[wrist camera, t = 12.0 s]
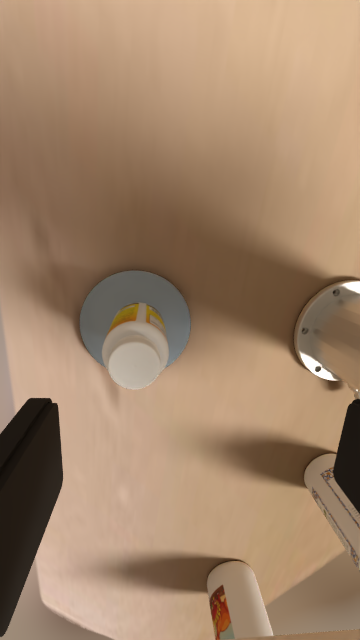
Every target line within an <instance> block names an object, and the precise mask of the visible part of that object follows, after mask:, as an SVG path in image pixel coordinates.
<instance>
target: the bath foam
mask: <svg viewBox="0 0 360 640" xmlns="http://www.w3.org/2000/svg"><path fill="white" fill-rule="evenodd" d="M336 455H337V454H324V455H321V456H319V457H317V458H316V459H314V460H313V461H312V462H311V463H310V464H309V465H308V466H307V468H306V470H305V474H304V481H305V484H306V486H307V488H308V490H309V491H310V493H311V495H312V496H313V498H314V500H315V501H316V503H317V504H318V506H319V508H320V509H321V511H322V512H323V514H324V515H325V517H326V519H327V520H328V522H329V523H330V525H331V527H332V528H333V530H334V531H335V533H336V534H337V536H338V538H339V539H340V541H341V542H342V544H343V546H344V547H345V549H346V550H347V552H348V554H349V555H350V557H351V558H352V560H353V561H354V563H355V564H356V566H357V568H358V569H359V571H360V514H359V513H358V511H357V510H356V509H355V507H354V506H353V504H352V503H351V502H350V500H349V499H348V498H347V496H346V495H345V494H344V492H343V491H342V490H341V488H340V487H339V486H338V484H337V483H336V481H335V479H334V476H333V468H334V464H335V459H336Z"/></svg>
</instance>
